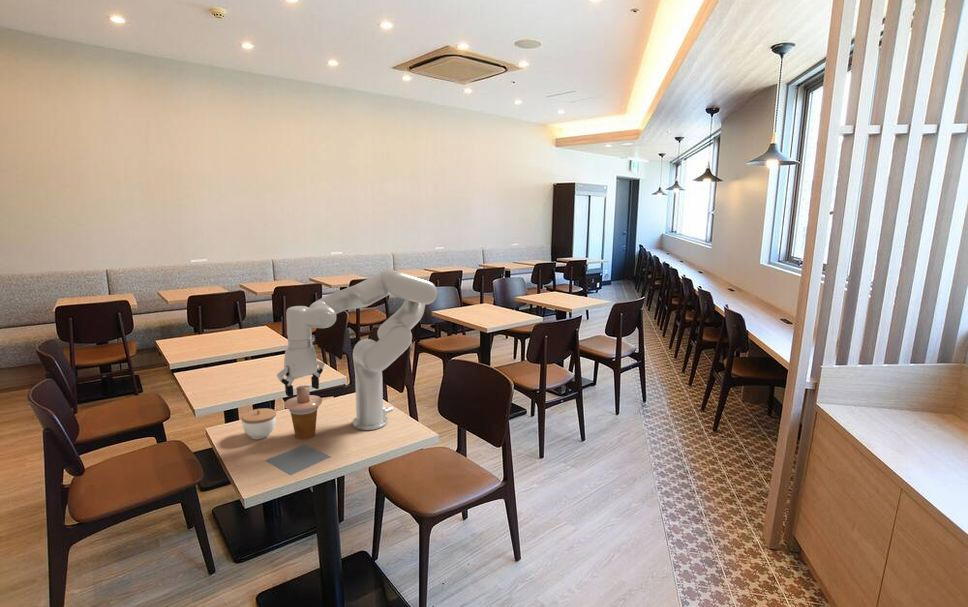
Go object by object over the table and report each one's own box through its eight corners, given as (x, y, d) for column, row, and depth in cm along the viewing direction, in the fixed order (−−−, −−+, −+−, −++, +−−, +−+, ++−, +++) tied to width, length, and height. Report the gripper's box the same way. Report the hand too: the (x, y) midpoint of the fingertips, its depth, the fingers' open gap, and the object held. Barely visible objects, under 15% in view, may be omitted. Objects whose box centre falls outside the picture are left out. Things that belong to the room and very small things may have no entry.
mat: (305, 445, 162) (305, 444, 162) (331, 458, 154) (331, 456, 154) (265, 462, 151) (264, 460, 151) (290, 476, 143) (290, 474, 143)
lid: (308, 394, 175) (307, 379, 174) (329, 402, 168) (328, 386, 167) (277, 404, 165) (276, 388, 164) (298, 413, 158) (297, 396, 157)
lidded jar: (238, 434, 169) (236, 409, 168) (269, 426, 177) (268, 401, 175) (249, 445, 162) (247, 418, 160) (282, 435, 169) (280, 410, 167)
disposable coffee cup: (324, 436, 169) (323, 403, 166) (297, 445, 162) (295, 411, 160) (312, 428, 175) (310, 396, 173) (285, 436, 169) (283, 403, 167)
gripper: (316, 336, 172) (318, 383, 175) (269, 346, 158) (272, 396, 161) (329, 340, 167) (331, 387, 170) (282, 350, 154) (285, 402, 157)
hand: (302, 392), depth 166 cm, fingers open, 9 cm apart
